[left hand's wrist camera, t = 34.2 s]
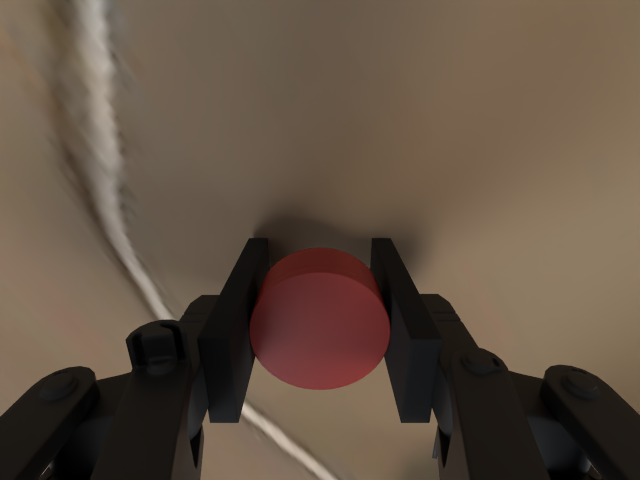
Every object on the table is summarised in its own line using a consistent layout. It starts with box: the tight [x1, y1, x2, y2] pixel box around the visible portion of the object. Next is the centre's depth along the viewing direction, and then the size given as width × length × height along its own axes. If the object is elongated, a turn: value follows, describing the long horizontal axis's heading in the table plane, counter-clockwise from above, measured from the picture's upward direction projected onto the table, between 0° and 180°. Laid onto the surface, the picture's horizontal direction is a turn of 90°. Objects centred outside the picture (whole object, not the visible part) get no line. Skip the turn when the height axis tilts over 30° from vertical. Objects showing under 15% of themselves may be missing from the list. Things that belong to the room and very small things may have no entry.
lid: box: [249, 248, 391, 390], centre depth 11 cm, size 4×4×2 cm
